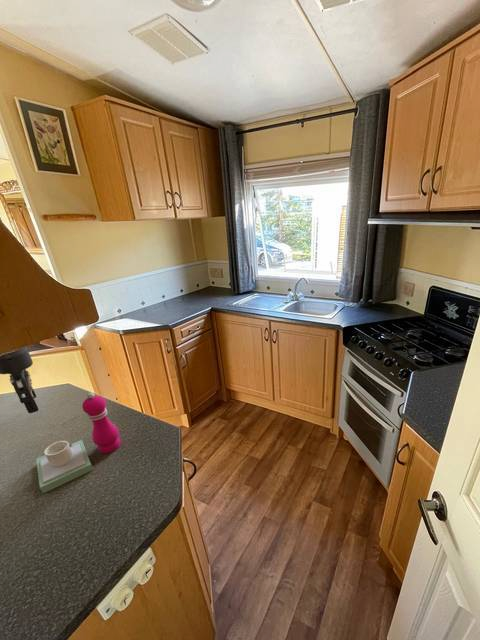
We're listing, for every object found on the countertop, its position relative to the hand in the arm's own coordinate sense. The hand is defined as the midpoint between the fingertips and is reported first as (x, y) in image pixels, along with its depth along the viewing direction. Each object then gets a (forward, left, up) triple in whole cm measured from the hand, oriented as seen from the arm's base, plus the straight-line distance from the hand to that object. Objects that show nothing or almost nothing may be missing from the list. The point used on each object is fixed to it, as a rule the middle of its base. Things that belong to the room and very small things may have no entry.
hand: (32, 404), depth 80 cm
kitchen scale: (+4, -5, -19) cm, 20 cm away
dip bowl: (+4, -5, -17) cm, 18 cm away
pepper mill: (+14, +2, -20) cm, 24 cm away
